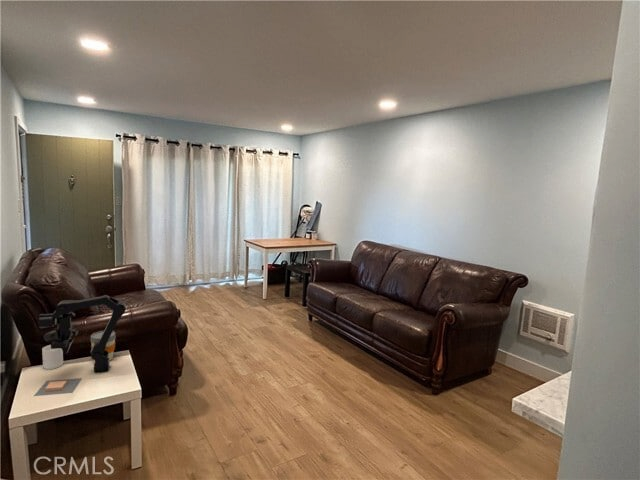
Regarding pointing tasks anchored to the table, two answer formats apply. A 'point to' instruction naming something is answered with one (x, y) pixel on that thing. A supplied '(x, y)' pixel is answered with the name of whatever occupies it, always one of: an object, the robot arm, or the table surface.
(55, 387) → the tile
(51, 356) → the mug
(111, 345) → the reusable coffee cup
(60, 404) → the table surface
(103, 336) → the robot arm
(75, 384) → the mat
